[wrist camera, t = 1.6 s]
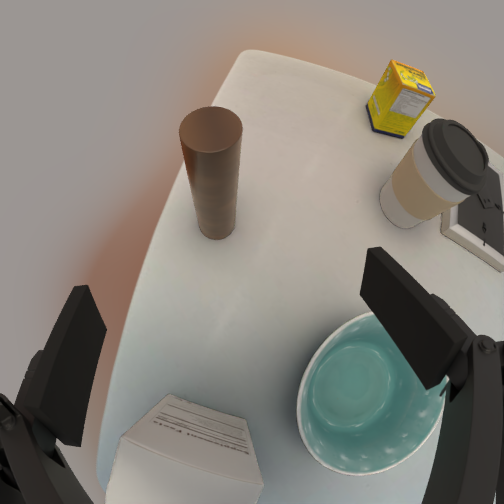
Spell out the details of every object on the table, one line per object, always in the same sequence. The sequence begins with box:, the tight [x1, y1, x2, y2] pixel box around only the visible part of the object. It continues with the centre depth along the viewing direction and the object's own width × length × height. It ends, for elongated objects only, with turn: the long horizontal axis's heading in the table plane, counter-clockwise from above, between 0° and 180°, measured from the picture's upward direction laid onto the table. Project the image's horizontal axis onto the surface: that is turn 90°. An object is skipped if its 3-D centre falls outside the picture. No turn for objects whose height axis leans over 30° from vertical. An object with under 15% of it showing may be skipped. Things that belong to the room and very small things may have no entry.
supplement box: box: [366, 60, 436, 138], centre depth 34 cm, size 6×6×11 cm
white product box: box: [104, 394, 264, 504], centre depth 18 cm, size 9×9×15 cm
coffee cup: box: [380, 119, 489, 229], centre depth 28 cm, size 9×9×15 cm
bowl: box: [296, 311, 449, 476], centre depth 24 cm, size 16×16×8 cm
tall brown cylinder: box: [179, 107, 243, 240], centre depth 24 cm, size 4×4×16 cm
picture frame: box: [441, 162, 504, 272], centre depth 36 cm, size 16×3×21 cm
